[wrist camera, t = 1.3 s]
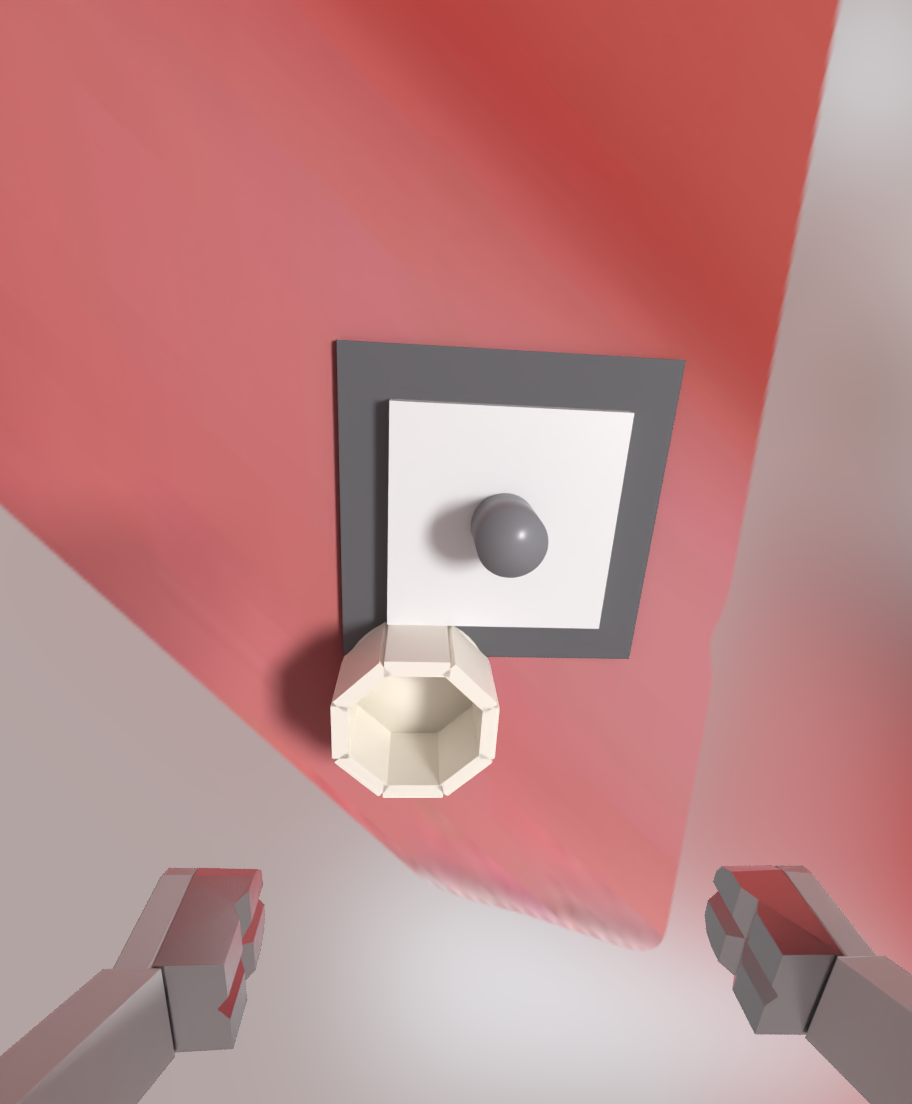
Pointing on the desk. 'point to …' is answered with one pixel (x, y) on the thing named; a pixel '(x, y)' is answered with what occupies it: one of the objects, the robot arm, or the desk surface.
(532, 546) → the cover
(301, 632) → the desk surface
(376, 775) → the bowl
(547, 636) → the mat
